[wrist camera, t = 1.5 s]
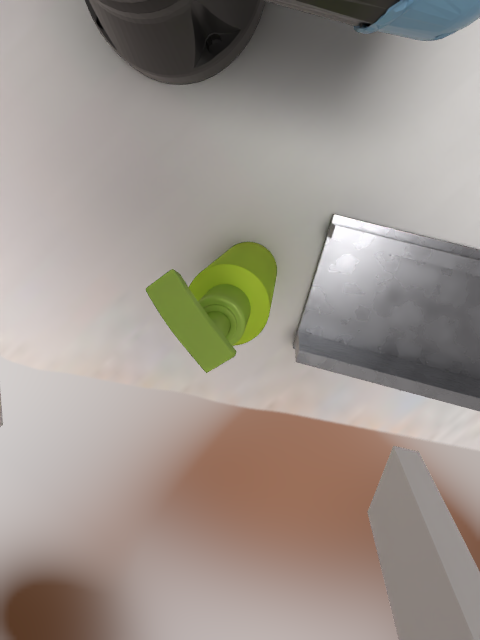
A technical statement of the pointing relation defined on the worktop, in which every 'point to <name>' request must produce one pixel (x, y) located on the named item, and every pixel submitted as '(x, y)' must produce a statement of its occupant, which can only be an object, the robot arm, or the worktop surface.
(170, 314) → the soap dispenser
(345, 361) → the track
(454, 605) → the robot arm
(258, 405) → the worktop surface
